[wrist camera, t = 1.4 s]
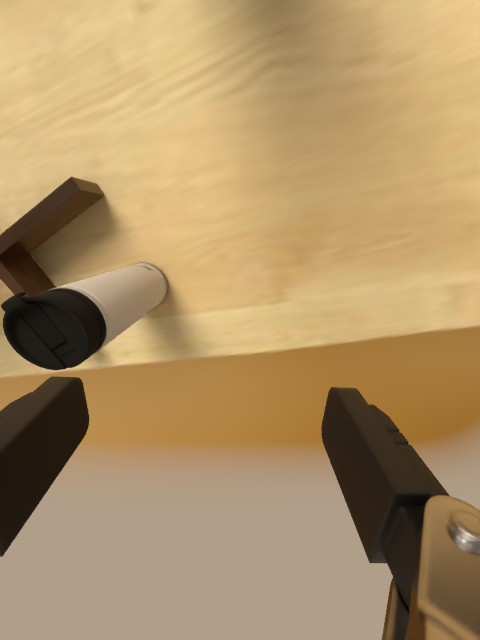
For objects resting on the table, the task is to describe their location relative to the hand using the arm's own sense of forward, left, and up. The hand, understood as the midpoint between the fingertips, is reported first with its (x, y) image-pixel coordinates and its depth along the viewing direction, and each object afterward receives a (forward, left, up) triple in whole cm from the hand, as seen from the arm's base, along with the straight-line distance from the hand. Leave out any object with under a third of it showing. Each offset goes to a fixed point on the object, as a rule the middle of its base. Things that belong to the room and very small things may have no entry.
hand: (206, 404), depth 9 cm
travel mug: (-6, -13, -30) cm, 33 cm away
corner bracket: (-11, -19, -30) cm, 37 cm away
